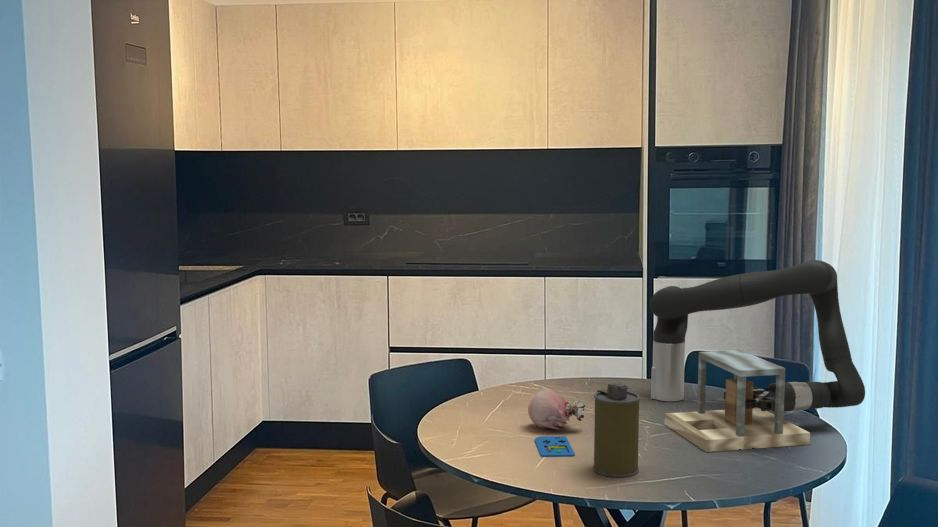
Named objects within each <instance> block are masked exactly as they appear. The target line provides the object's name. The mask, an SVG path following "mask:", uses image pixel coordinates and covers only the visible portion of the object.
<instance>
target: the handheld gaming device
mask: <svg viewBox="0 0 938 527" xmlns="http://www.w3.org/2000/svg"><path fill="white" fill-rule="evenodd" d="M534 443H535V445H536V448H537V450H538V453H539V456H540V458H562V457H563V458H565V457H568V458H569V457H570V458H573V457H575V456H576V452H575V451H574V449H573V447H572V446H571V443H570V441H569V439H568V438H567V436H566V435H555V436H554V435H552V436H551V435H549V436H547V435H545V436H544V435H543V436H542V435H541V436H537V437H535V438H534Z"/></svg>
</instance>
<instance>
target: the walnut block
mask: <svg viewBox="0 0 938 527" xmlns="http://www.w3.org/2000/svg"><path fill="white" fill-rule="evenodd" d="M753 387H754V382H753V381H751V380H749V379H747V378H746V397H745V400H747V399H753ZM725 392H726V398H725V401H724V402H725V405H724V410H725V421H727V422H728V423H730V424H732V425H734V426H736V407H737V379H734V378H726V379H725ZM752 413H753V408H751V409H745V425H752Z"/></svg>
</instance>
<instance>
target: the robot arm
mask: <svg viewBox="0 0 938 527" xmlns="http://www.w3.org/2000/svg"><path fill="white" fill-rule="evenodd" d="M838 287H839V286H838V274H837V271H836V269H835V268H834V267H833V265H831V264H829V263H827V262H825V261H823V260H818V259H813V260H809V261H805V262H802V263H798V264H795V265H791V266H787V267H783V268H780V269H773V270H762V271H754V272H753V271H752V272H746V273H739V274H734V275H729V276H724V277H720V278H717V279H714V280H711V281H708V282H705V283H702V284H699V285H696V286H689V287H682V288H681V287H679V286H676V285H670V286H666V287H663V288H661V289H658V290H657V291H656V292H655V293H654V294H652V295H653V296H652V297H651V298H650V302H649V307H650V310H651V312H652V314H653V315H654V316H655V317H656V318H657V319H656V325H655V328H654V330H653V333H652V335H653V336H652V366H651V375H650V376H651V377H650V378H651V379H650V382H651V385H650V386H651V387H650V399H652V400H657V401H662V402H679V401H682V400H684V398H685V397H684V393H685V359H686V358H685V357H686V356H685V355H686V353H685V352H686V334H687V332H688V326H689V325H688V322H689V315H690V314H693V313H699V312H700V313H701V312H708V311H711V312H712V311H721V310H722V311H723V310H724V311H725V310H731V309H739V308H745V307H751V306H754V305H760V304H763V303H765V302H768V301H772V300H774V299H777V298H780V297H786V296H794V295H804V294H805V295H809V296H810V298H811V300H812V303H813V306H814V309H815V314H816V319H817V320H816V321H817V329H818V330H817V331H818V332H817V333H818V342H819V347H820V351H821V356H822V361H823V364H824V367H825V369H826V370H827V371H828V372H831V373H833V374H834V376H835V378H836V380H834V381H825V382H824V381H823V382H821V381H805V382H804V381H803V382H801V381H800V382H799V381H787V382H786V381H785V393H784V413H786V412H799V411H804V410H815V409H823V408H833V409H834V408H835V409H836V408H846V407H847V408H848V407H855V406H859V405H861V404H862V403H863V401H864V400H865V396H866V389H865V387H866V386H865V384H864V382H863V379H862V377H861V376H860V373H859V371H858V369H857V368H856V366H855V364H854V362H853V359H852V354H851V351H850V345H849V342H848V337H847V334H846V330H845V327H844V322H843V319H842V314H841V313H842V312H841V308H840V302H839V300H840V299H839V288H838ZM725 398H726V391H724V392H723V399H724V400H725ZM775 398H776V382H772V383H770V384H769V385H768V386H767V388H766V389H763V388H758V387H756V386H753V399H747V400H745V409H751V408H755V409H761V411H768V412H770V411H772V412H774V413H775Z"/></svg>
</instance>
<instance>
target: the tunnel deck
mask: <svg viewBox="0 0 938 527" xmlns="http://www.w3.org/2000/svg"><path fill="white" fill-rule="evenodd" d="M707 362H708V363H710V364H712V365H714V366H716V367H718V368H721V369H723V370H725V371H727V372H729V373H731V374H733V379H737V407H736V426H734V425H732V424H730V423H728V422H727V421H725V409H714V410H706V392H707V390H706V387H707ZM697 367H698V369H697V370H698V371H697V373H698V374H697V405H696V406H697V409H696V411H682V412H666V413H664V426H666V427H667V428H669V429H670V430H673V431H674V432H676V433H677V434H678V435H679V436H681V437H683V438H684V439H686V440H688V442H690V443H692V444H693V445H694V444H695V446H696V447H697V446H698V447H697V448H699V449H700V450H702V451H704V452H705V453H711V452H712V453H713V451H714V452H726V451H739V449H741V450H750V449H751V450H753V449H752V448H755V449H765V448H767V449H768V448H777V447H778V448H781V447H793V446H794V447H795V446H805V445H807V446H808V445H811V444H810V443H811V442H810V440H811V432H810V431H808V430H806V429H804V428H801V427H800V426H797V425H796V424H794V423H791V422H790V421H789V420H785V419H784V413H785V412H784V393H785V382H786V368H785V367H784V366H781V365H778V364H775V363H774V362H771V361H769V360H766V359H763V358H761V357H758V356H756V355H753V354H751V353H749V352H746V351H744V350H741V349H733V350H732V349H731V350H729V349H728V350H713V351H711V350H710V351H699V352H698V366H697ZM763 376H765V377H766V376H775V383H776V398H775V412H774V413H772V412H770V411H761V409H755V408H753V413H752V425H745V397H746V379H747V377H763Z"/></svg>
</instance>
